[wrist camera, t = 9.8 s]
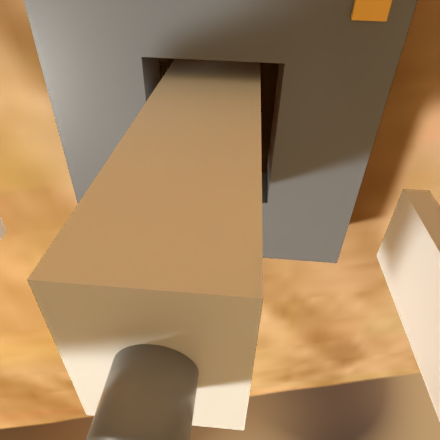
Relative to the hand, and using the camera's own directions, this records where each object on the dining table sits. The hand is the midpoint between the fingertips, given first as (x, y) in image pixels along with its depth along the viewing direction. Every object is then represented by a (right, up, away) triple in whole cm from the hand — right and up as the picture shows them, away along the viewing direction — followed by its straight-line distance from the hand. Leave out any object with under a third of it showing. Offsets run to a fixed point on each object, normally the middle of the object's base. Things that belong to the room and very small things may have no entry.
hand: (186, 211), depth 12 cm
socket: (+1, +5, +7) cm, 9 cm away
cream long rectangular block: (+1, +5, +7) cm, 9 cm away
